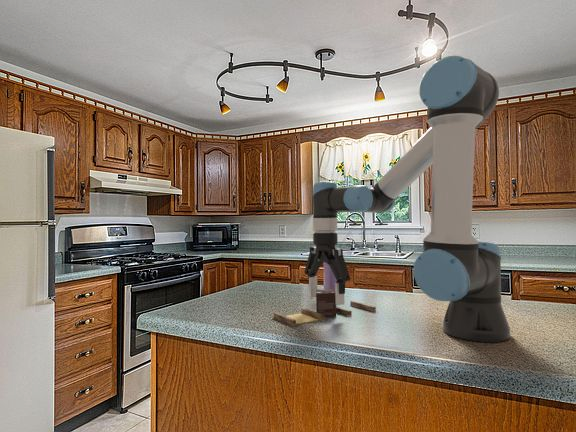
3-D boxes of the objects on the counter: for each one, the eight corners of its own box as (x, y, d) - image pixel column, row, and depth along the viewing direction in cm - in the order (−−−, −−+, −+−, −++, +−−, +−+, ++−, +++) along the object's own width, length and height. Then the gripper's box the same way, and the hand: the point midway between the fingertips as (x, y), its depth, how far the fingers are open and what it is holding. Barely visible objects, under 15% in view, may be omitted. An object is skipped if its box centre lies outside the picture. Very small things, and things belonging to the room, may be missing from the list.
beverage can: (340, 299, 136) (340, 258, 136) (324, 299, 136) (324, 259, 136) (338, 296, 142) (338, 257, 142) (323, 296, 142) (322, 257, 142)
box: (335, 312, 116) (335, 289, 117) (336, 317, 110) (336, 293, 111) (316, 312, 117) (316, 289, 117) (316, 317, 111) (315, 292, 111)
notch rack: (375, 311, 117) (375, 306, 117) (293, 326, 101) (292, 320, 101) (352, 305, 126) (352, 300, 126) (273, 317, 110) (273, 312, 110)
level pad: (318, 320, 107) (318, 319, 107) (296, 324, 103) (296, 323, 103) (301, 314, 114) (301, 313, 114) (280, 317, 110) (280, 316, 110)
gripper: (362, 232, 105) (363, 306, 105) (312, 231, 127) (312, 293, 126) (341, 233, 102) (342, 310, 101) (293, 231, 123) (294, 295, 123)
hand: (326, 300), depth 114 cm, fingers open, 13 cm apart
